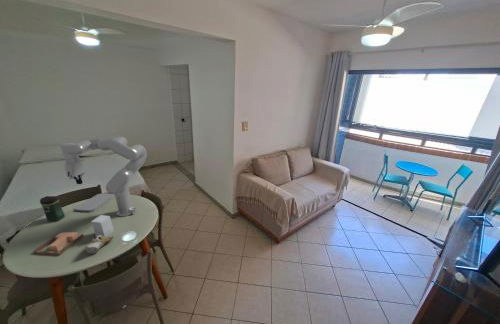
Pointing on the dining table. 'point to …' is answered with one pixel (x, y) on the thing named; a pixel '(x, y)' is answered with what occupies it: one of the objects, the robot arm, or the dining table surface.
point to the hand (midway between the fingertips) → (79, 183)
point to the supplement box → (102, 226)
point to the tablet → (94, 202)
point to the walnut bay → (39, 251)
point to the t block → (63, 240)
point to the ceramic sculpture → (97, 243)
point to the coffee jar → (52, 208)
